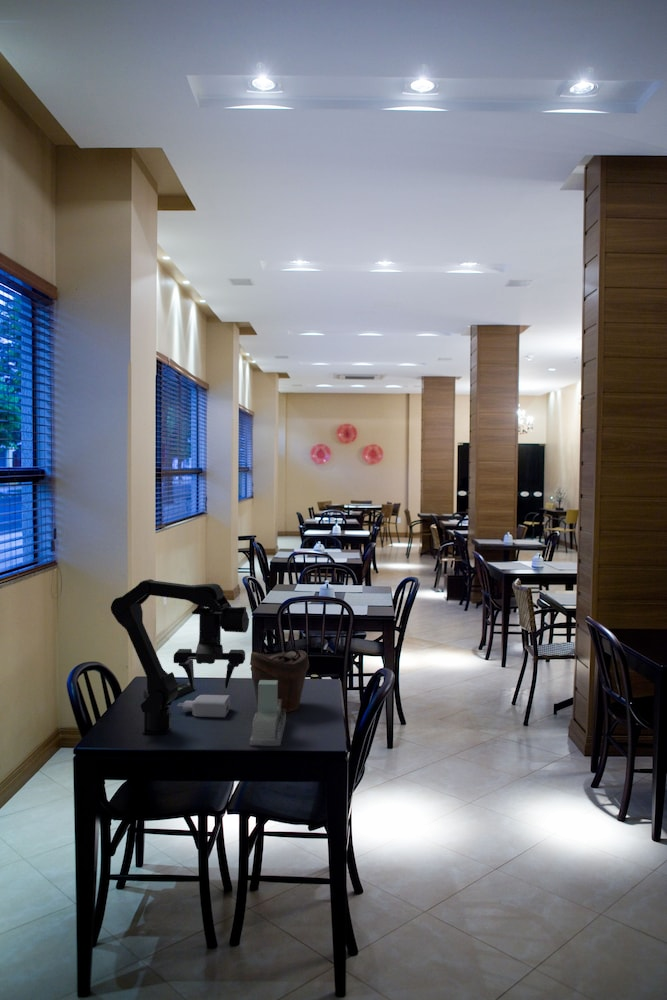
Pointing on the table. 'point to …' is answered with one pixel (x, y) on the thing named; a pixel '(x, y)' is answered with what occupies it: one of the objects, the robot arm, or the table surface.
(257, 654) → the brown flower pot
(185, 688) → the disk drive
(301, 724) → the table surface
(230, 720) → the table surface
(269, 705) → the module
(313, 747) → the table surface
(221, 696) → the charger
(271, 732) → the rail
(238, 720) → the table surface
